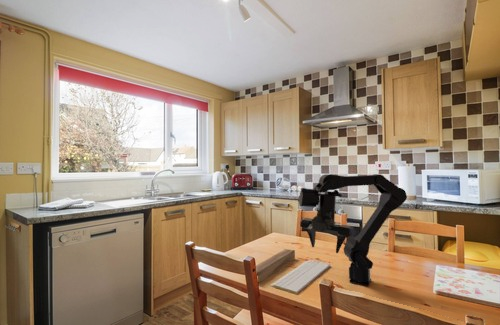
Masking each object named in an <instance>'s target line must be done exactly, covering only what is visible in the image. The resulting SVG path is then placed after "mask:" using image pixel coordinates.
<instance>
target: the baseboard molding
mask: <svg viewBox="0 0 500 325" xmlns="http://www.w3.org/2000/svg"><path fill="white" fill-rule="evenodd" d="M304 260H305V261H304V262H303V263H301V264H300V265H299V266H297V267H296V268H294V269H293V270H291V271H289V272H288V273H287V274H285V275H284V276H282V277H281V278H279V279H277V280H276V281H274V282H273V283H271V284H270V287H272V288H275V289H278V290H281V291H285V292H288V293H291V294H295V295H297V294H299V293H300V292H301V291H303V289H305V288H306V287H307V286H308V285H310V283H311V282H313V281H314V280H315V279H317V278H318V277H319V276H320V275H321V274H323V273H324V272H325V271H326V270H327V269H328V268H330V267H331V264H330V263H331V261H328V263H326V262H327V261H325V260H324V262H322V261H321V262H320V258H318V257H317V258H315V260H313V259H310V260H308V257H307V258H304ZM317 260H318V261H317ZM298 292H299V293H298Z"/></svg>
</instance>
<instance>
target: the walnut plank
mask: <svg viewBox="0 0 500 325" xmlns="http://www.w3.org/2000/svg"><path fill="white" fill-rule="evenodd" d="M295 259H296V251H295V250H294V249H293V250H291V249H287V248H284V249H283V250H281V251H279V252H277V253H276V254H274V255H272V256H271V257H268V258H267V259H264V260H263V261H261V262H259V263H258V264H257V265H255V266H256V269H257V276H258V282H259V283H258V284H260V283H261V282H262V281H263V280H266V279H267V278H268V277H270V276H271V275H273V274H274V273H276V272H278V271H279V270H280V269H282V268H283V267H285V266H286V265H288V264H290V263H291V261H293V260H295Z"/></svg>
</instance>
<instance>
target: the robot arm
mask: <svg viewBox="0 0 500 325" xmlns="http://www.w3.org/2000/svg"><path fill="white" fill-rule="evenodd" d="M356 186H357V187H358V186H374V187H375V188H376V190H377V191H378V192H379V193H380V196H379V201H378V205H377V207H376V208H375V210H374V211H373V213H372V214H371V215H370V217H369V218H368V220H367V222H366V223H365V225H364V226H363V227H362V228H361V230H360V232H359V233H358V234H357V235H356V236H355V237H353V235H354V234H355V229H354V227H353V226H352V225H348V224H341V225H336V221H335V218H336V216H335V215H336V214H337V211H336V200H337V199H336V197H338V198H339V197H340V198H341V197H342V194H341V193H340V192H339V189H342V188H346V187H356ZM407 197H408V195H407V192H406V190H405V189H404V188H401V187H399V186H398V185H397V184H395V183H394V182H392V181H390V180H389V179H388V178H386V177H385V176H384V175H383V174H377V173H375V174H367V175H366V174H365V175H364V174H363V175H348V176H347V175H346V176H345V175H340V174H339V175H336V174H329V173H328V174H327V173H326V174H322V175H321V176H320V177H319V180H318V183H316V185H315V186H314V187H313V188H306V187H300V192H299V195H298V204H299V205H298V206H299V207H310V208H316V207H317V206H318V205H319V206H318V210H317V212H316V215H315V216H314V217H313V218H309V217H308V218H307V217H306V218H303V219H301V220H300V223H299V227H300V228H302V229H303V231H305V232H306V233H307V235H308V238H309V240H310V245H311V247H312V248H314V247H315V244H316V233H317V232H316V231H320V232H325V231H326V230H329V231H333V232H337V233H338V234H337V235H336V239H337V240H336V244H335V245H336V247H335V253H336V254H338V253H339V251H340V250H341V248H342V245H344V247H343V254H344V255H345V257H347V258H348V260H349V262H351V263H350V266H349V267H348V279H349V283H351V284H356V285H361V286H365V287H369V286H370V284H371V282H372V278H371V269H372V268H373V266H374V263H373V261H372V260H370V258H368V254H369V251H370V245H371V243H372V241H373V240H374V238H375V237H376V235H377V234H378V232H379V231H380V230H381V229H382V226H383V225H384V223H385V222H386V220H388V218H389V216H390V214H392V212H393V211H395V210H397V209H399V208H400V207H401V206H402V204H404V203H405V202H406V200H407V199H408V198H407ZM347 238H348V239H347ZM346 239H347V241H346V242H345V243H344V241H345V240H346ZM343 243H344V244H343Z"/></svg>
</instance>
